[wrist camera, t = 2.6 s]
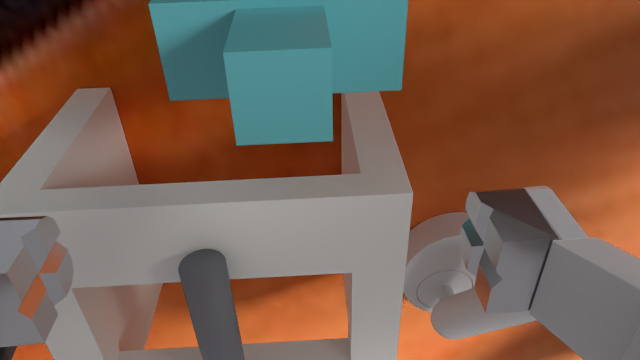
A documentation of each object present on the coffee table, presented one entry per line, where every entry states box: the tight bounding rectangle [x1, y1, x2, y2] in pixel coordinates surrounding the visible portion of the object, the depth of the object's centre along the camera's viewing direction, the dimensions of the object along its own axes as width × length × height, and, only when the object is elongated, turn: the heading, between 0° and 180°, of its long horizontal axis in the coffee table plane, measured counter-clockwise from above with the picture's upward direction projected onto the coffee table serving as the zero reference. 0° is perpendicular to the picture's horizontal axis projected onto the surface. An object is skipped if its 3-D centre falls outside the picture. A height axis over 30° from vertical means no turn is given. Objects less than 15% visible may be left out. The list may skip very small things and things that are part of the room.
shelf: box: [0, 87, 413, 360], centre depth 29 cm, size 18×16×14 cm
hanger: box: [148, 0, 408, 146], centre depth 21 cm, size 9×4×15 cm, turn 92°
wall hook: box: [403, 212, 537, 339], centre depth 35 cm, size 9×10×10 cm
